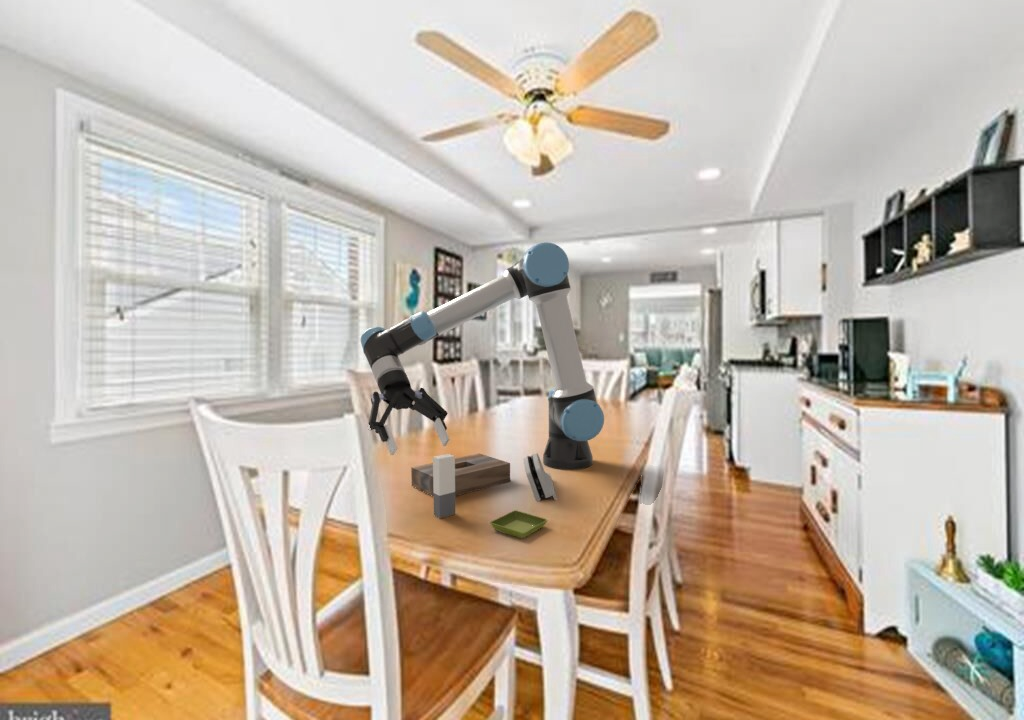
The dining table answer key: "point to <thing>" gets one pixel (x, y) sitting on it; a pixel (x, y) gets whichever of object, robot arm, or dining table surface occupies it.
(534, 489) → the grey curved slotted block
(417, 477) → the post foot
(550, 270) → the robot arm
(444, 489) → the rail end
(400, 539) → the dining table surface
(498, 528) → the olive green shallow tray
